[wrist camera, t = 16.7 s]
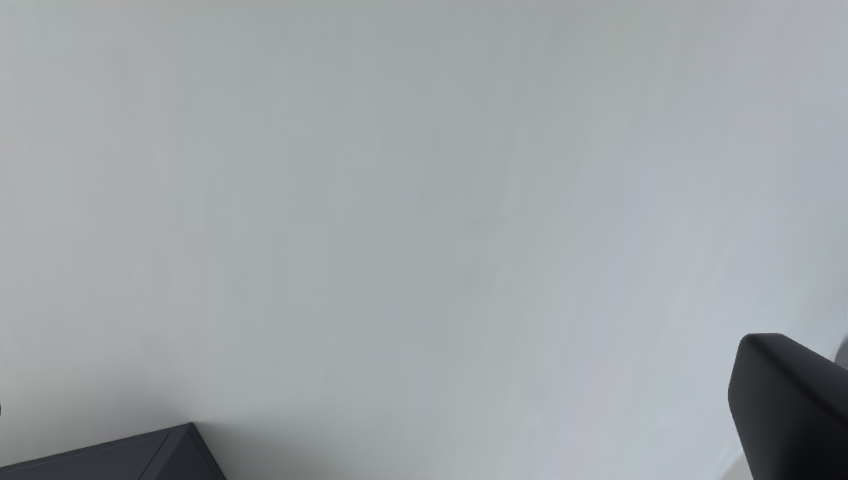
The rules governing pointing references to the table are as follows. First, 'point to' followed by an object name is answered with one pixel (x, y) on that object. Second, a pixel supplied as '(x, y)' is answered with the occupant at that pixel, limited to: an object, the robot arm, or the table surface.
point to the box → (128, 460)
